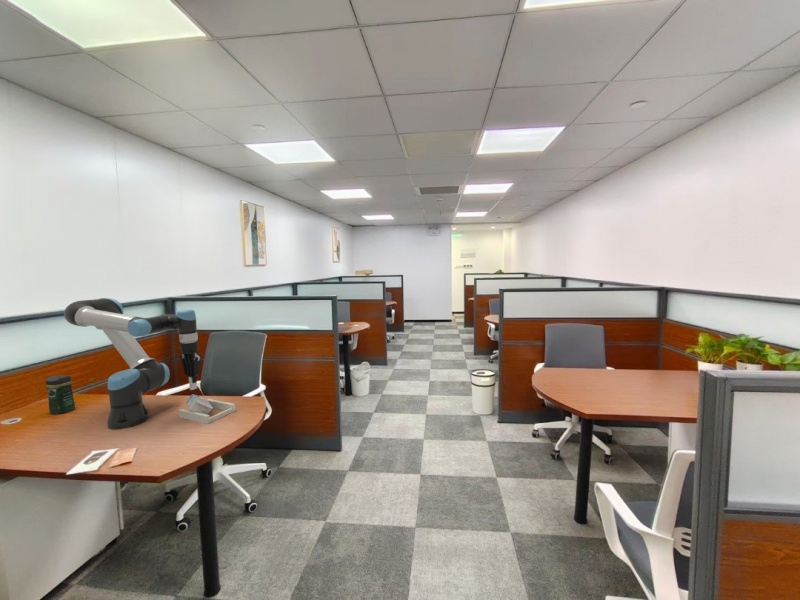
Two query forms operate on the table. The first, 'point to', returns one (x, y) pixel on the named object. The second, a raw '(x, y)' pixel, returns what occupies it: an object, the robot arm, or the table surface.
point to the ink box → (199, 404)
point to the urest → (206, 418)
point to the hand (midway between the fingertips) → (193, 389)
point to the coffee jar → (60, 394)
